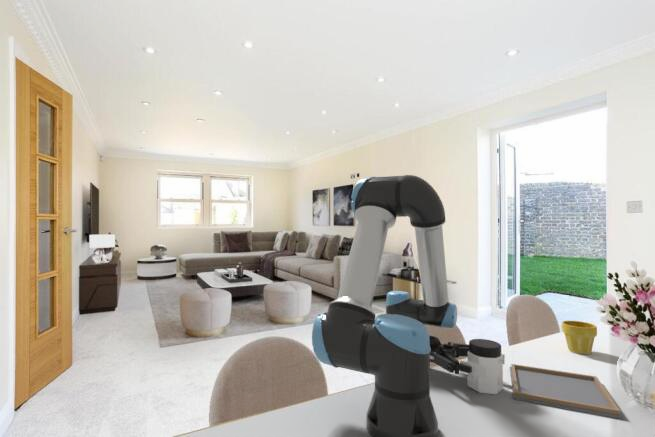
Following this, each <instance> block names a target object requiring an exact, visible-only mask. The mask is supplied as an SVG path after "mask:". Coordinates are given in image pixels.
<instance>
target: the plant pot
mask: <svg viewBox="0 0 655 437" xmlns="http://www.w3.org/2000/svg"><path fill="white" fill-rule="evenodd" d="M561 331H562V332H563V334H564V337H565V341H566V345H567V349H569V350H570V352H571V351H572V352H571V353H573V354H579V355H590V354H592V350H593V346H594V341H595V337H597V335H598V328H597V325H596V324H593V323H592V322H588V321H579V320H563V321H561ZM569 350H568V351H569Z"/></svg>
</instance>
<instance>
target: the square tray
mask: <svg viewBox="0 0 655 437" xmlns="http://www.w3.org/2000/svg"><path fill="white" fill-rule="evenodd" d="M510 365H511V366H509V372H510V379H511V380H510V381H511V389H512V396H513V397H512V398H513V400H516V401H520V402H521V401H522V402H528V403H532V404H538V405H542V406H543V405H544V406H550V407H554V408H560V409H563V410H564V409H566V410H571V411H576V412H581V413H587V414H593V415H598V416H603V417H609V418H614V419H620V420H624V415H623V414H622V411H621V409H620V408H619V406H617V404H616V403H615V401H614V400H613V398H612V397H611V395H610V394H609V392H608V391H607V389H606V388H605V387H604V385H603V384H602V382H601V381H600V379H599V378H598V377H597V376H596V375H589V374H583V373H577V372H576V373H574V372H569V371H562V370H555V369H549V368H541V367H536V366H528V365H523V364H514V363H511V364H510Z"/></svg>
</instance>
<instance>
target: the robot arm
mask: <svg viewBox="0 0 655 437" xmlns="http://www.w3.org/2000/svg"><path fill="white" fill-rule="evenodd" d="M350 196H351V202H350V206H351V210H352V212H353V214H354V217H355V220H356V221H357V224H356V228H355V232H354V235H353V238H352V239H353V240H352V244H351V247H350V251H349V254H348V259H347V262H346V265H345V270H344V274H343V276H342V280H341V283H340V284H341V285H340V288H339V290H338V295H337V298H336V299H334V300H333V301H331V302H329V305H328V309H327V312H321V313H318V315H317V316H316V318H315V319H314V321H313V322H314V323H313V326H312V332H311V342H312V343H311V344H312V347H313V348H312V349H313V353H314V356H315V358H316V359H317V361H319V362H320V363H321V364H322V363H323V364H325V365H328V366H331V367H333V368H335V369H336V368H341V369H345V370H350V371H355V372H359V373H364V374H368V375H372V376H374V390H373V394H372V397H371V400H370V402H369V406H368V408H367V411H366V421H365V422H366V429H367V431H368V433H369V435H370V436H371V437H438V436H439V423H438V417H437V415H436V411H435V407H434V404H433V402H432V398H431V395H430V394H431V393H430V390H431V389H430V383H431V382H430V380H431V379H430V377H431V375H430V374H431V373H430V372H431V370H430V369H431V366H430V365H431V364H430V363H433V364H436V365H437V366H438V367H440V368H441V369H444V371H445V370H446V371H447V372H449V373H454V374H455V375H460V372H461V373H465V374H467V375H468V374H471V375H474V376H478V377H481V378H486V367H484V366H480V365H477V364H473V363H469V362H468V361H465V360H458V358H460V357H467V358H468V351H469V343H468V344H466V343H465V344H464V343H456V342H452V341H448V342H447V343H443V344H442V343H441V341H440V339H439V337H437V336H434V335H430V331H429V329H428V327H427V326H432V327H438V328H442V329H443V328H445V329H453V328H456V325H457V321H458V308H457V305H456V304H455V303H452V302H449V292H448V290H449V289H448V280H447V268H446V255H445V245H444V234H443V233H444V231H443V225H444V224H445V223H446V211H445V208H444V207H445V206H444V204H443V201H442V199H441V197H440V196H439V194H438V192H437V191H436V190H435V189H434V187H433V186H432V185H431V184H430V183H429V182H428V181H426V180H425V179H424V178H422V177H420V176H417V175H412V174H404V175H396V176H395V175H393V176H392V175H390V176H370V177H366V178H365V177H363V178H361V179H360V180H358V181H357V182H356V183H355V185H354V186H353V188H352V193H351V195H350ZM398 217H399V218H402V217H403V218H404V217H408V218H409V223H410V226H412V227H413V228H414V232H415V233H414V235H415V240H416V241H415V242H416V250H417V260H418V267H419V268H418V269H419V276H420V285H421V293H422V299H417V298H415V299H414V298H411V296H410V292H408V291H403V290H391V291H389V292H387V293H386V298H385V299H386V303H385V313H382V314H379V315H376V313H375V312H374V310H373V309H372V305H373V300H374V295H375V291H376V287H377V286H376V285H377V283H378V278H379V272H380V268H381V263H382V259H383V255H384V254H383V253H384V250H385V244H386V241H387V237H388V231H389V229H391V228H392V227H394V226H395V224H396V221H397V218H398ZM501 354H502V355H503V365H505V361H506V360H505V353H502V352H501Z"/></svg>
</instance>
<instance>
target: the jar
mask: <svg viewBox="0 0 655 437" xmlns="http://www.w3.org/2000/svg"><path fill="white" fill-rule="evenodd" d="M468 345H469V351H468V357H467V362H469V363H473V364H477V365H480V366H484V367H486V378H481V377H478V376H474V375H471V374H468V373H467V386H468V387H470V388H471V389H473V390H474V391H476V392H477V393H480V394H489V395H498V394H499V393H500V392H501V391H502V390H503V388H504V387H503V386H504V383H503V377H504V372H503V371H504V370H503V367H504V364H503V355H502V354H503V353H502V345H501V344H500V343H499V342H497V341H495V340H492V339H485V338H473V339H470V340H469V341H468ZM501 353H502V354H501Z"/></svg>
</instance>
